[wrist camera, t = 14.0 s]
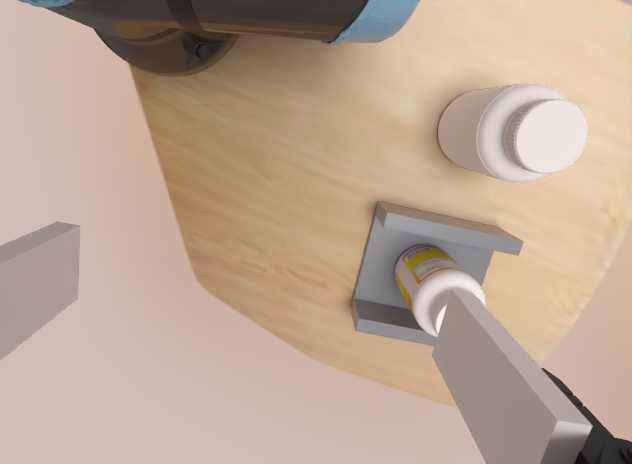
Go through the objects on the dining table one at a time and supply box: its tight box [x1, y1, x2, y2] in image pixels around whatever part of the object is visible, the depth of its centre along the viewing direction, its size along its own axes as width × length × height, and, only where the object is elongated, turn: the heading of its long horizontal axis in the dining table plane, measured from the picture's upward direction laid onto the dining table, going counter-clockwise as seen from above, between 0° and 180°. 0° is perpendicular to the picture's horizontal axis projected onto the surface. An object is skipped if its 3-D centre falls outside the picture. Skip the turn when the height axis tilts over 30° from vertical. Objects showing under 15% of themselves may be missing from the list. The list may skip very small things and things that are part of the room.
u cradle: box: [351, 201, 523, 346], centre depth 45 cm, size 13×14×6 cm
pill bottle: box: [438, 83, 588, 183], centre depth 37 cm, size 8×8×15 cm
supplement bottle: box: [395, 245, 487, 337], centre depth 41 cm, size 7×7×13 cm
